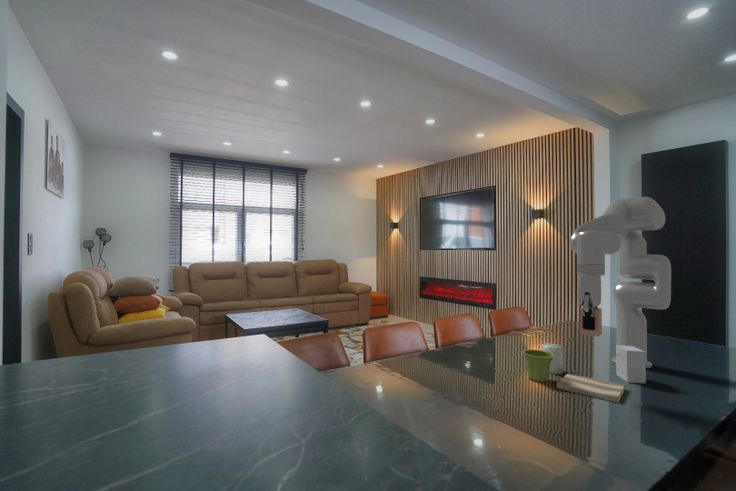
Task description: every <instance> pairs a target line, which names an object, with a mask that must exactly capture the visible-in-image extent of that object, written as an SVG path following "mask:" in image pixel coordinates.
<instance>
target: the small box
mask: <svg viewBox="0 0 736 491" xmlns="http://www.w3.org/2000/svg"><path fill="white" fill-rule="evenodd" d="M615 357H616V363H615V369H616V371H615V373H616V374H615V375H616V376H618V377H619V378H620V379H622V380H623V381H625V382H627V383H630V384H631V383H632V384H635V383H636V384H647V375H646V374H647V373H646V372H647V371H646V369H647V368H646V361H645V351H643V350H640V349H638V348H636V347H634V346H622V345H617V344H616V345H615Z"/></svg>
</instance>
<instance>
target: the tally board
mask: <svg viewBox="0 0 736 491" xmlns="http://www.w3.org/2000/svg"><path fill="white" fill-rule="evenodd" d="M556 389H558V390H561V391H567V392H571V393H574V392H575V394H578V393H579V395H584V396H588V397H591V398H595V399H601V400H604V401H609V402H614V403H617V404H618V403H620V400H621V399H622V396H623V395H624V392H625V390H626V384H624V383H619V382H614V381H609V380H603V379H599V378H594V377H588V376H584V375H579V374H576V373H569V372H568V373H566V374H565V375H564V376H563V377H562V378H561V379H560V380H559V381H558V382H557V383H556Z"/></svg>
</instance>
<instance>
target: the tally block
mask: <svg viewBox="0 0 736 491" xmlns="http://www.w3.org/2000/svg"><path fill="white" fill-rule="evenodd" d="M602 311H603V310H602V308H600V307H598V308H594V317H595V330H587V329H583V306H581V307H580V308H579V335H585V336H591V337H592V336H593V337H600V336H601V335H602V334H603V331H602V329H603V328H602V327H603V326H602V325H603V322H602V320H603V319H602V318H603V314H602V313H603V312H602Z"/></svg>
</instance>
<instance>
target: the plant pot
mask: <svg viewBox="0 0 736 491" xmlns="http://www.w3.org/2000/svg"><path fill="white" fill-rule="evenodd" d="M522 353H523V355H524V358H525V363H526V371H527V373H526V374H527V377H528V379H529V380H531V381H533V382H538V383H539V382H540V383H543V382H548V381H549V376H550V373H549V370H550V364H551V361H552V358H553V357H554V355H553V354H552V353H549V352H546V351H542V349H541V350H539V349H524V350H523V351H522Z"/></svg>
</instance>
